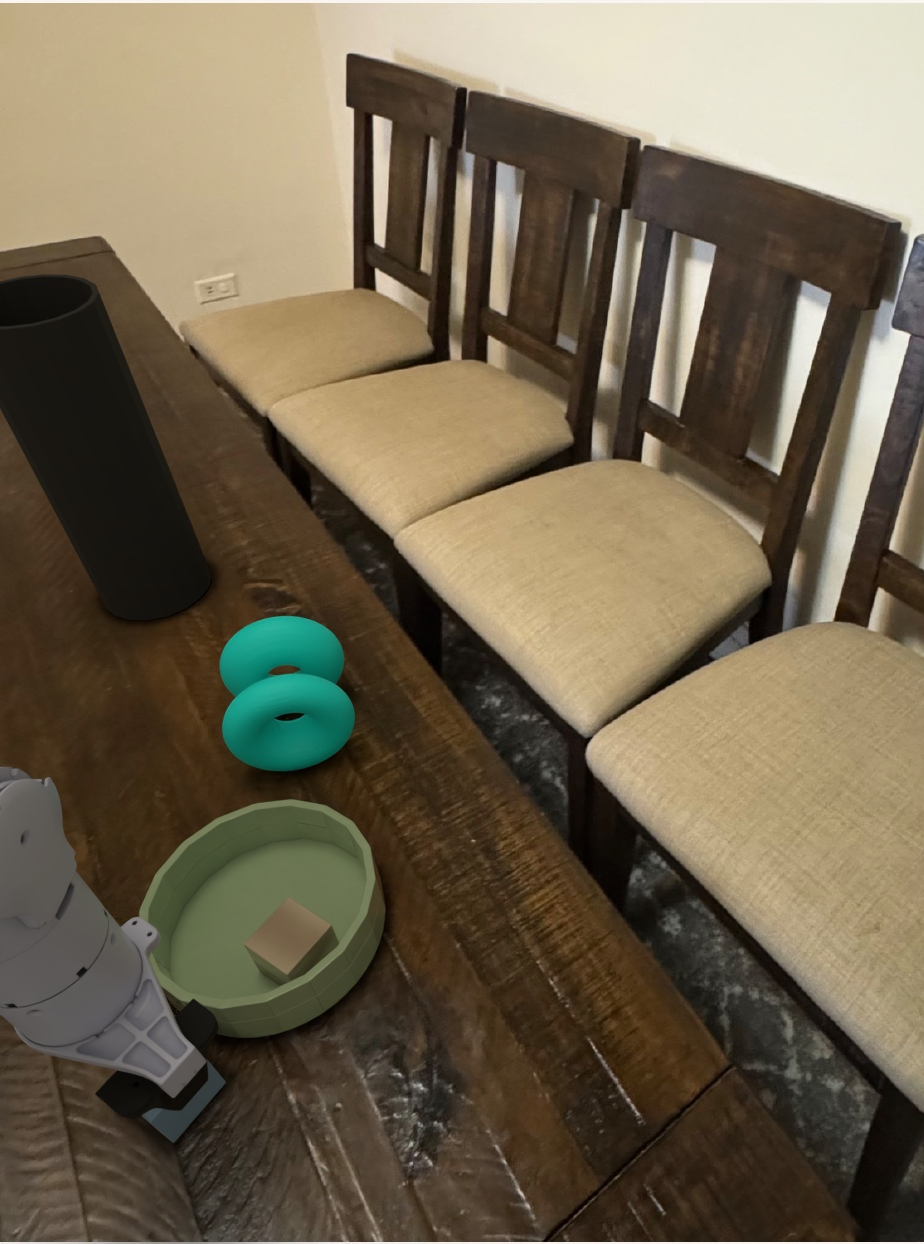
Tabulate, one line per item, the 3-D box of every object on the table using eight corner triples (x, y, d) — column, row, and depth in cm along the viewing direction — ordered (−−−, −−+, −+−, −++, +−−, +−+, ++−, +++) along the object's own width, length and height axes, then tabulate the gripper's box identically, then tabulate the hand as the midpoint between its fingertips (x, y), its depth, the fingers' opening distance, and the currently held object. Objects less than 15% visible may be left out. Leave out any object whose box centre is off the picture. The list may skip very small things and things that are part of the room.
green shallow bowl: (274, 1085, 54) (253, 1056, 51) (115, 962, 60) (86, 928, 56) (429, 896, 64) (420, 861, 60) (280, 805, 69) (264, 768, 66)
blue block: (173, 1143, 52) (150, 1122, 49) (130, 1106, 53) (105, 1083, 50) (226, 1082, 54) (207, 1059, 51) (183, 1048, 56) (162, 1023, 53)
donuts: (351, 677, 79) (329, 598, 73) (366, 759, 73) (344, 680, 66) (237, 703, 77) (203, 623, 70) (242, 791, 70) (205, 712, 63)
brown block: (301, 1001, 58) (287, 975, 55) (258, 970, 59) (242, 944, 56) (343, 951, 60) (331, 924, 57) (301, 923, 61) (288, 896, 59)
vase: (101, 631, 83) (-61, 336, 62) (105, 568, 89) (-40, 282, 69) (214, 607, 86) (96, 318, 65) (210, 547, 92) (101, 268, 72)
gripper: (218, 954, 40) (288, 1059, 49) (27, 814, 45) (123, 935, 54) (82, 1095, 36) (187, 1181, 45) (-114, 923, 41) (17, 1033, 50)
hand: (145, 1054), depth 49 cm, fingers open, 7 cm apart
